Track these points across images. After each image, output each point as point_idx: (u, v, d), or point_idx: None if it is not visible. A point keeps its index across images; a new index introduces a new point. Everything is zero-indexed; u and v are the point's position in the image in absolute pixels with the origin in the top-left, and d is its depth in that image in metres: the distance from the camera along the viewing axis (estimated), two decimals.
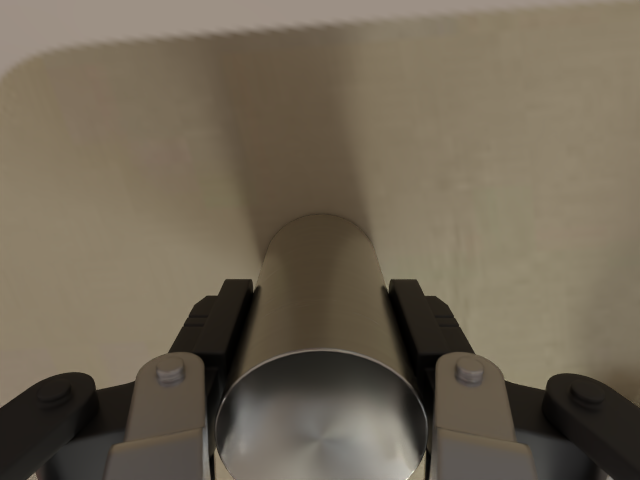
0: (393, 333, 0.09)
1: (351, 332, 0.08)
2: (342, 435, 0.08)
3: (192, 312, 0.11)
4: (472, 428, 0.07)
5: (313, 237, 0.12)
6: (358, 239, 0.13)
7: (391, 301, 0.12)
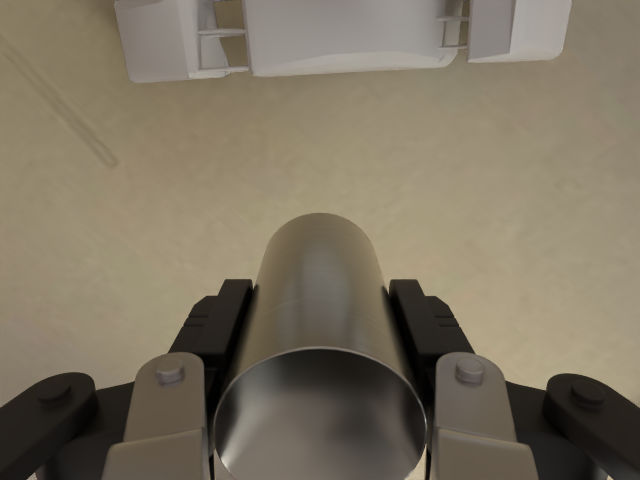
0: (392, 331, 0.09)
1: (349, 330, 0.08)
2: (341, 433, 0.08)
3: (192, 312, 0.11)
4: (472, 428, 0.07)
5: (311, 235, 0.12)
6: (357, 238, 0.13)
7: (391, 301, 0.12)
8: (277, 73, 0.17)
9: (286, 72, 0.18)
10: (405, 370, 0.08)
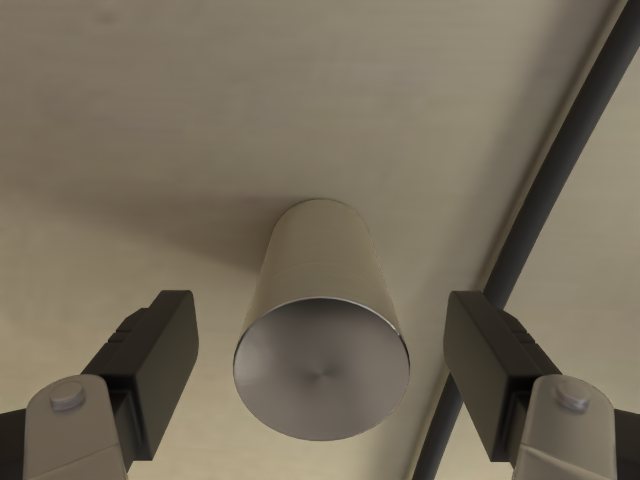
0: (382, 291, 0.10)
1: (346, 286, 0.09)
2: (339, 370, 0.09)
3: (121, 326, 0.10)
4: (564, 455, 0.06)
5: (313, 216, 0.14)
6: (354, 220, 0.15)
7: (453, 314, 0.11)
8: None
9: None
10: (391, 318, 0.09)
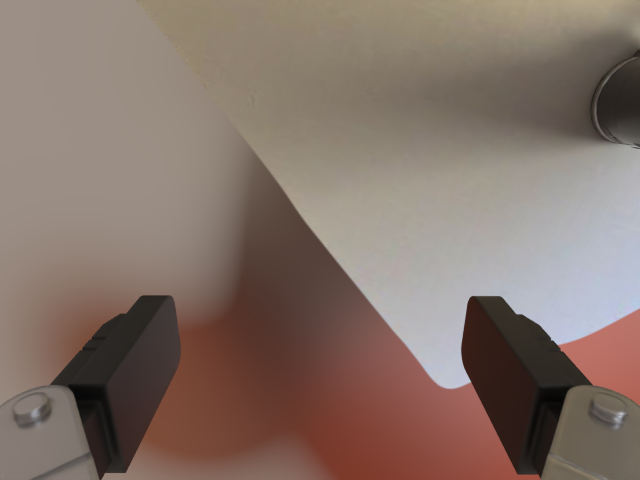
0: None
1: None
2: None
3: (97, 333, 0.10)
4: (596, 468, 0.06)
5: None
6: None
7: (473, 320, 0.11)
8: None
9: None
10: None
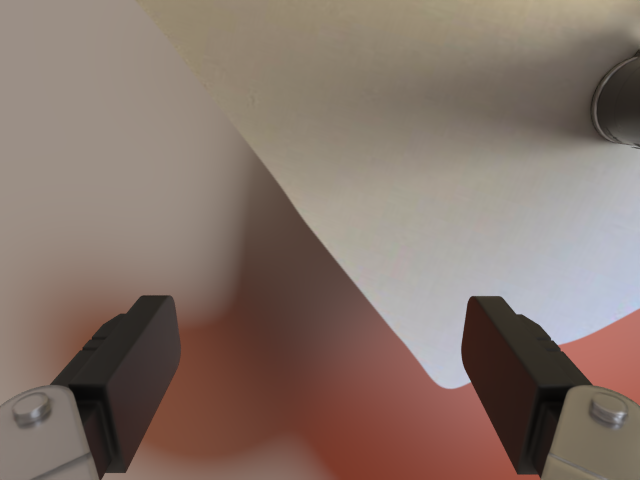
0: None
1: None
2: None
3: (97, 333, 0.10)
4: (596, 468, 0.06)
5: None
6: None
7: (473, 320, 0.11)
8: None
9: None
10: None
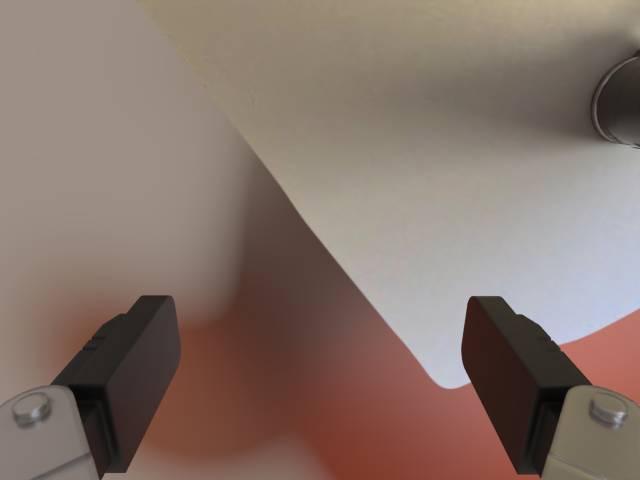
0: None
1: None
2: None
3: (97, 333, 0.10)
4: (596, 468, 0.06)
5: None
6: None
7: (473, 320, 0.11)
8: None
9: None
10: None
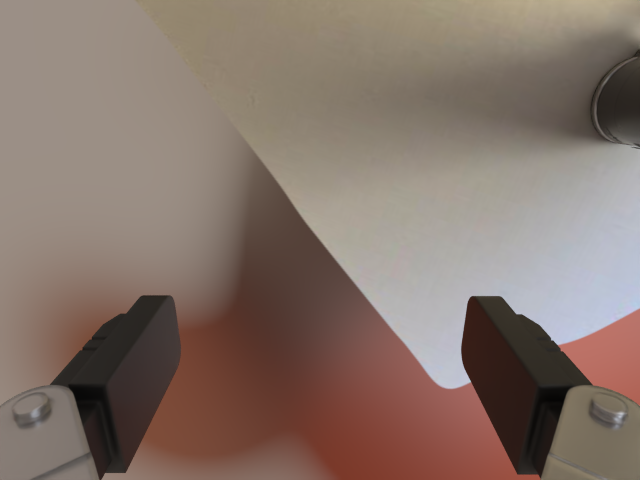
0: None
1: None
2: None
3: (97, 333, 0.10)
4: (596, 468, 0.06)
5: None
6: None
7: (473, 320, 0.11)
8: None
9: None
10: None
